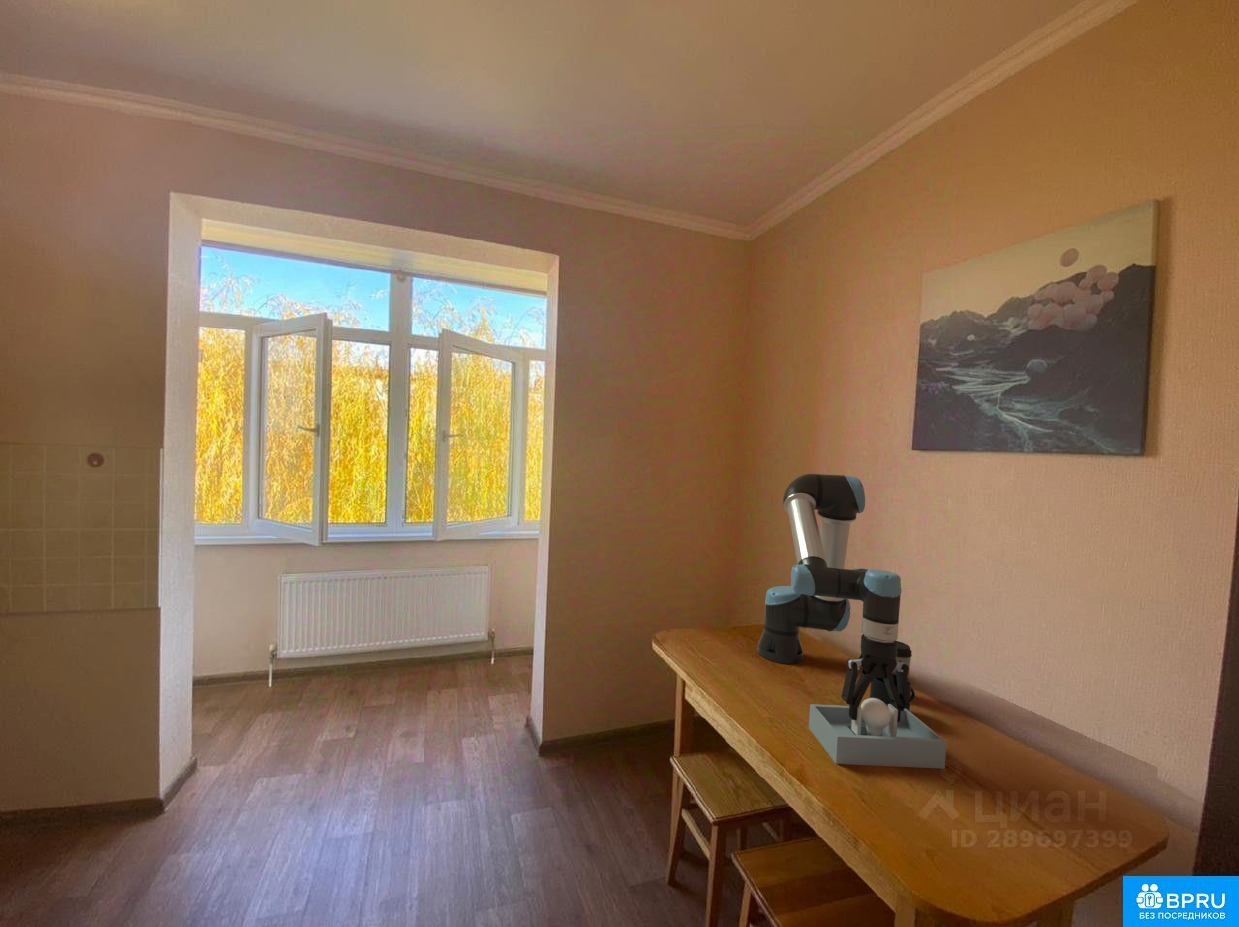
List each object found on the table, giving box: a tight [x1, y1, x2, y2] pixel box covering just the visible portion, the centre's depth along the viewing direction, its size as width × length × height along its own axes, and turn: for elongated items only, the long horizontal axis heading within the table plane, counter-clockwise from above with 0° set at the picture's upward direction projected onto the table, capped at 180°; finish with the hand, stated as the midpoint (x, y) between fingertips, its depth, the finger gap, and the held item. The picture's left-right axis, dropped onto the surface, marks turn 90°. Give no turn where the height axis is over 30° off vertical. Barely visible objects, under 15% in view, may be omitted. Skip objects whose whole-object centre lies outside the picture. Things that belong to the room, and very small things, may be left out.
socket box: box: [808, 703, 947, 770], centre depth 111 cm, size 14×24×6 cm, turn 91°
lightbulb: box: [860, 697, 891, 736], centre depth 111 cm, size 6×6×11 cm
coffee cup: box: [892, 640, 912, 679], centre depth 138 cm, size 8×8×15 cm
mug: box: [869, 674, 916, 712], centre depth 128 cm, size 9×12×9 cm
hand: (873, 733), depth 111 cm, fingers open, 8 cm apart
